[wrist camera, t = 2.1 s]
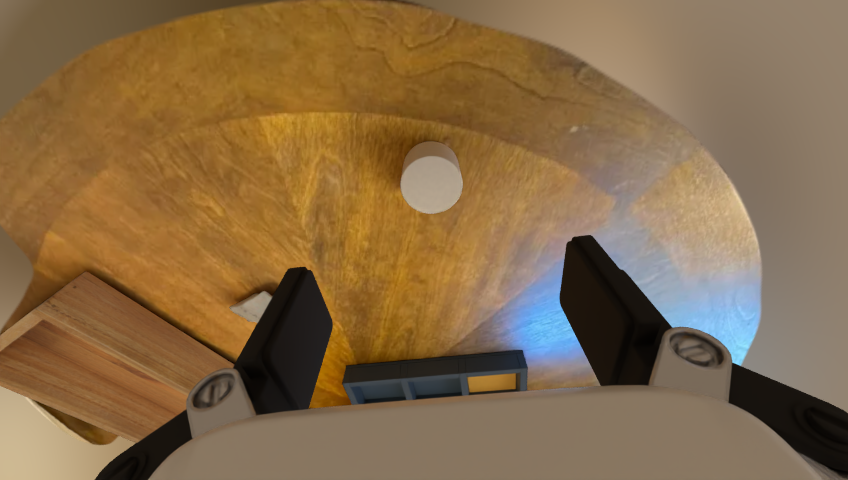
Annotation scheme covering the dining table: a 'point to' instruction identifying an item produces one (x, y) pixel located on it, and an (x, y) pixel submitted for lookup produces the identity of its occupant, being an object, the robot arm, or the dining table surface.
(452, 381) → the grid
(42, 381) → the tray
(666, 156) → the dining table surface
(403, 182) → the cylinder
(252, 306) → the stone
